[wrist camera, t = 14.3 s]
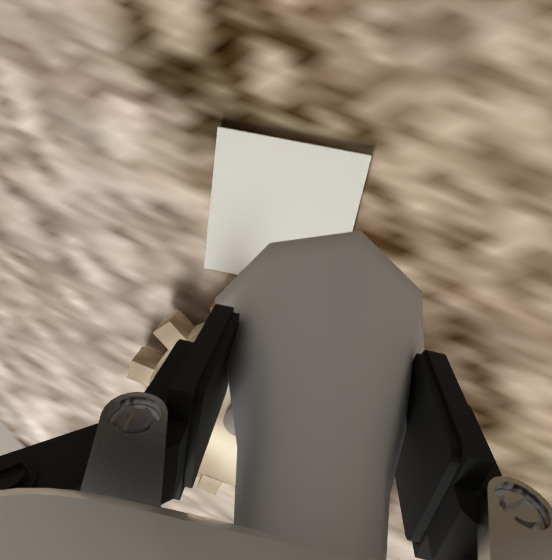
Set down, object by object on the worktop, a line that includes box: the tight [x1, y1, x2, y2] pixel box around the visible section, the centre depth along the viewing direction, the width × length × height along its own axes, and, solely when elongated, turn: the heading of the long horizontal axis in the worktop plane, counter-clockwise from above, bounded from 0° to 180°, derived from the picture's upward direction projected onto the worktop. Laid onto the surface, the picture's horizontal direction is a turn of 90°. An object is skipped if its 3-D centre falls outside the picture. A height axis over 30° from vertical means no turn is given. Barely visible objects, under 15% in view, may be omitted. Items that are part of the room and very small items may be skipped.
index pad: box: [204, 127, 372, 275], centre depth 28 cm, size 10×10×1 cm
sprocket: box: [127, 296, 237, 495], centre depth 31 cm, size 20×20×8 cm
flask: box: [215, 231, 424, 560], centre depth 10 cm, size 7×7×10 cm
